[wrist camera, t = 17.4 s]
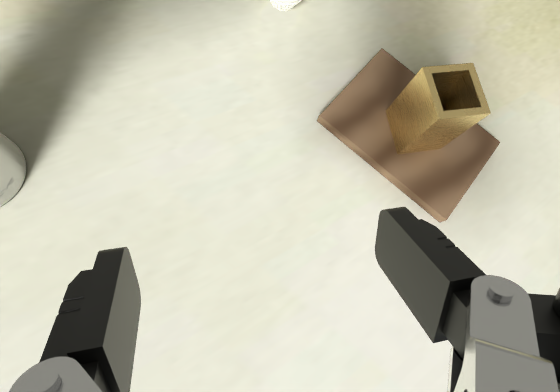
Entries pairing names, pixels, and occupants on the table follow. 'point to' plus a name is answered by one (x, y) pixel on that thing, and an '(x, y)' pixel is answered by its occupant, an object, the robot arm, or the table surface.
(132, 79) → the table surface
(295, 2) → the muffin
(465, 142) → the post board
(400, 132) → the wooden sleeve
